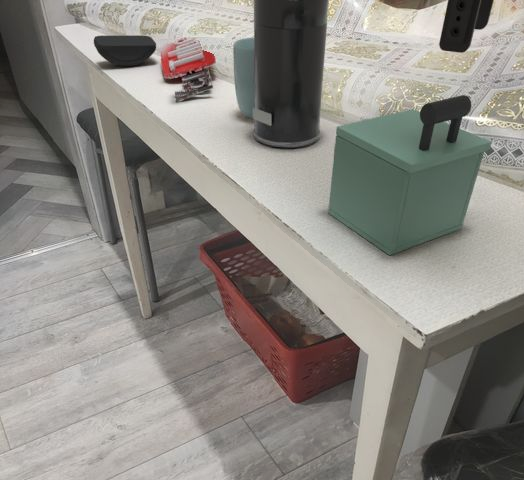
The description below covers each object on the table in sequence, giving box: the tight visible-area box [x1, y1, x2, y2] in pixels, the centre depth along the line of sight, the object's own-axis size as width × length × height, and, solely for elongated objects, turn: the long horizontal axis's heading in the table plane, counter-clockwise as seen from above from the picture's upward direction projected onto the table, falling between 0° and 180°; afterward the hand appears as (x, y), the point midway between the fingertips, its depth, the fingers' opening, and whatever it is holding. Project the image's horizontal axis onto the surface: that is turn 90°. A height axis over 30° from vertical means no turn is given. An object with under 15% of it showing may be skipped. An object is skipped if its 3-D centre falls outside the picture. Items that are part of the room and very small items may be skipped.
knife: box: [190, 69, 210, 88], centre depth 94 cm, size 17×2×5 cm
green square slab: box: [335, 94, 493, 173], centre depth 49 cm, size 11×10×5 cm
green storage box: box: [328, 134, 485, 256], centre depth 54 cm, size 10×10×9 cm
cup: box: [232, 36, 255, 120], centre depth 77 cm, size 8×8×10 cm
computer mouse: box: [93, 34, 157, 67], centre depth 101 cm, size 6×11×4 cm, turn 112°
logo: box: [160, 36, 217, 103], centre depth 93 cm, size 25×2×10 cm
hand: (463, 38), depth 42 cm, fingers open, 8 cm apart
